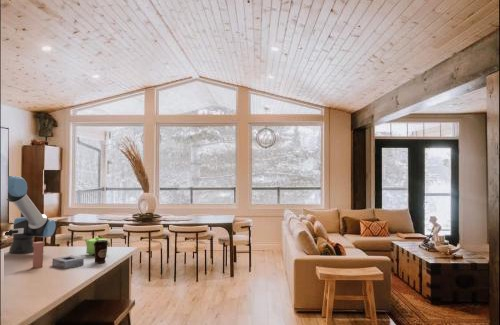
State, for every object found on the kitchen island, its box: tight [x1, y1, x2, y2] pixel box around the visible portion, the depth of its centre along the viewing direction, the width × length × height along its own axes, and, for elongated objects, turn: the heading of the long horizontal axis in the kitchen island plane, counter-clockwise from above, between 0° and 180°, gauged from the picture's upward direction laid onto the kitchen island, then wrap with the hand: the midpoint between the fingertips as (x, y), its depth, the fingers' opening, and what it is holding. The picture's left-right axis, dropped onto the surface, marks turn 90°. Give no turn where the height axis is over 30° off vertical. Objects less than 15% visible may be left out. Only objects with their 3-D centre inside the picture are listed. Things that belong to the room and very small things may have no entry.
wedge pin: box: [32, 240, 46, 269], centre depth 227 cm, size 4×5×14 cm
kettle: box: [83, 236, 110, 256], centre depth 265 cm, size 15×14×11 cm
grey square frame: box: [51, 255, 85, 270], centre depth 233 cm, size 12×12×4 cm
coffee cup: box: [93, 239, 109, 264], centre depth 244 cm, size 9×8×13 cm
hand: (16, 229), depth 222 cm, fingers open, 13 cm apart
